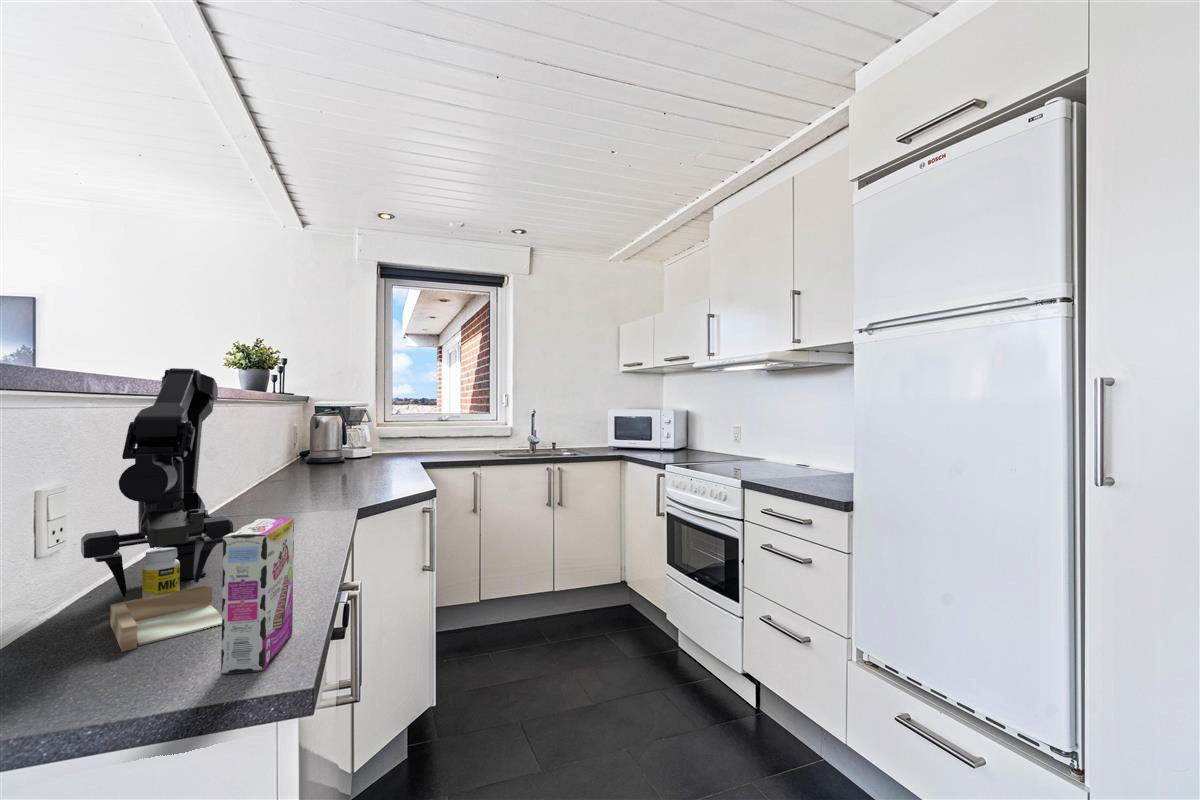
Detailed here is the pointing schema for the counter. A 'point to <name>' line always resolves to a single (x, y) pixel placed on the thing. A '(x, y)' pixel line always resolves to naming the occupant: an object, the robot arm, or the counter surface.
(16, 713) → the counter surface
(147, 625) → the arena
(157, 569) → the supplement bottle
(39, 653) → the counter surface
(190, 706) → the counter surface
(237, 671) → the candy bar box
